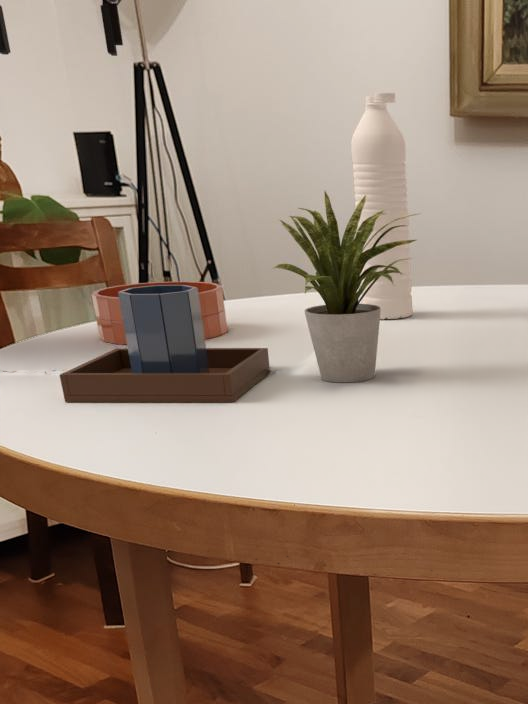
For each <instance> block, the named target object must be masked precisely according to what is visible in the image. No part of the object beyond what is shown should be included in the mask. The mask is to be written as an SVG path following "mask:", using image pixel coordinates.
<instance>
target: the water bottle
mask: <svg viewBox="0 0 528 704" xmlns="http://www.w3.org/2000/svg"><path fill="white" fill-rule="evenodd" d="M392 103H393V104H395V103H396V93H395V92H374V93H373V95H367V96H365V104H363V105H364V106H365V110H364V112H363V114H362V116H361V118H360V119H359V122H358V123H357V125H356V128H355V130H354V132H353V134H352V137H351V144H350V151H351V160H352V164H353V165H352V170H353V179H354V180H353V185H354V193H355V194H354V200H355V203H354V205H355V209H356V208H357V206H358V204H359V203H360V202H361V200H362V199H363V197H364V196H365V195H366V198H365V204H364V207H363V209H362V212H361V216H360V220H359V224H358V227H357V230H358V229H359V227H360V226H361V224H362V222H363V221H365V220H366V219H367V218H369V217H371V216H373V215H374V214H376V213H378V212H381V211H383V213H387V214H382V215H380V216H379V217H378V218H377V219H376V221H375V224H374V228H373V231H372V233H371V234H370V236H369V237H368V239H367V241H366V243H365V245H366V244H367V242H368V241H369V240H370V239H371V238H372V236H373V235H374V234H375V233H376V232H377V231H378V230H379V229H381V228H382V227H383V226H385V225H386V224H387V223H389V222H391V221H393V220H395V219H398V218H401V217H404V216H408V215H409V209H408V201H407V200H408V193H407V191H408V187H407V178H406V177H407V172H406V169H407V165H406V141H405V139H404V138H405V137H404V136H403V133H402V132H401V130H400V128H399V127H398V125H397V123H396V122H395V121H394V119H393V117H392V116H391V115H390V113H389V111H388V109H387V106H388V104H392ZM384 210H385V211H384ZM409 220H410V219H409V217H405V218H402V219H399V220H396V221H394V222H393V223H391V224H389V225H387V226H386V227H385V228H383V229H382V230H381V231H379V232H378V233H377V234H376V235H375V236H374V237H373V239H372V240H371V241H370V242H369V243H368V245H367V246H366V247H365V245H364V247H365V249H364V250H363V249H362V250H363V252H364V251H366V250H368V249H370V248H372V247H373V245H374V244H375V242H376V240H377V239H378V238H379V237H380V235H381V234H382V233H384V232H385V231H386V230H387V229H389V228H391V227H394V226H399V225H408V226H402V227H396V228H394V229H392V230H390V231H389V232H388V233H386V234H385V235H384V236H383V237H382V238H381V239H380V241H379V242H378V243H377V245H376V246H379V245H382V244H386V243H391V242H396V241H405V240H410V232H409V229H408V228H409V225H410V224H409V222H410V221H409ZM409 245H410V243H408V244H403V245H399V246H396V247H394V248H391V249H389V250H387V251H385V252H383V253H381V254H379V255H376V256H374V257H373V258H371V259H369V260H368V261H367V262H366V264H365V266H364V268H363V270H362V272H361V274H362V273H363V272H364V271H365V270H366V269H368V268H369V267H371V266H375V265H384V266H388V265H389V264H391V263H393V262H394V261H397V260H400V259H407V260H401V261H398V262H396V263H394V264H393V265H392V266H393V267H395V268H397V269H398V270H399V271H400V272H401V273H403V274H402V275H401V274H400V273H389V275H390V276H391V277H392V281H393V283H392V282H391V281H390V280H389V279H388V278H386V277H384V276H380V277H379V278H378V280H377V281H376V282H375V283H374V284H373V285H372V287H371V288H370V289H369V290H368V292H367V293H366V294H365V296H364V297H363V298H362V300H361V301H360V302H361V304H371V305H376V306H379V307H380V309H381V312H380V320H385V319H387V320H397V319H405V318H409V317H411V316H412V315H413V310H414V309H413V296H412V294H411V293H412V279H411V274H412V273H411V272H412V269H411V263H410V260H411V259H410V258H411V251H410V247H409ZM376 246H375V247H376ZM364 247H363V248H364ZM385 268H386V267H384V268H378V269H377V270H376V271H375V272H379V271H383V270H384V269H385ZM387 270H394V269H391V268H388V269H387ZM361 274H360V275H361ZM364 280H365V278H364V279H363V280H362V282H361V284H360V286H361V285H362V283H363V282H364ZM374 280H375V279H374ZM374 280H373V281H374ZM373 281H372V282H373ZM372 282H371V283H372ZM371 283H369V284H368V285H367V287H366V288H365V290H364V291H363V293H362V294H361V296H362V295H363V294H364V292H365V291H366V290H367V288H368V287H369V286H370V285H371ZM393 284H394V285H393Z"/></svg>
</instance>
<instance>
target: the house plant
mask: <svg viewBox="0 0 528 704" xmlns="http://www.w3.org/2000/svg"><path fill="white" fill-rule="evenodd" d="M365 198H366V195H365V196H364V197H363V199H362V200H361V202H360V203H359V204H358V206H357V208H356V207H355V210H354V212H353V213H352V215H351V217H350V218H349V220H348V222H347V223H346V227H345V230H344V233H343V235H342V238H341V239H340V232H339V225H338V221H337V218H336V215H335V212H334V210H333V207H332V203H331V200H330V199H331V198H330V196H329V195H328V194H327V192H326V190H324V205H325V214H326V221H327V222H326V221H325V219H324V218H323V216H322V214H321V213H320V212H318V211H316V210H314V211H313V210H311V209H308V208H304V207H303V208H302V207H298V209H299V210H303V211H306V212H308V213H309V214H310V215H311V216H312V217H313V222H312V221H310V220H309V219H308V218H306V217H303V216H297V215H295V216H294V215H293V216H292V215H289V218H290V219H291V220H292V221H293V224H294V225H295V227H296V228H294V227H293V226H292V225H291V224H289V223H287V222H284V221H283V220H281V219H279V221H280V223H281V225H282V226H283V227H284V228H285V229H286V230H287V231H288V233H289V234H290V235H291V237H292V239H294V241H295V242H296V244H298V246H300V248H301V249H302V251H304V253H305V254H306V256H307V257H308V259H309V261H310V262H311V264H312V266H313V268H314V270H315V274H309V273H308V272H307V271H305V270H304V269H302V268H301V267H298V266H296V265H293V264H290V263H279V264H277V265H275V266H273V267H272V269H282V270H286V271H289V272H292V273H295V274H297V275H299V276H301V277H303V278H304V279H305V284H304V285H305V286H304V294H306V293H307V292H308V291H309V290H312V289H314V290H315V291H316V292H317V293H318V294H319V296H320V297H321V299H322V300H323V302H324V304H321V305H315V306H310V307H307V308H304V316H305V319H306V323H307V327H308V331H309V334H310V338H311V343H312V347H313V351H314V355H315V358H316V363H317V367H318V370H319V374H320V377H321V380H322V381H325V382H329V383H357V382H364V381H368V380H372V379H374V377H375V376H376V366H377V355H378V343H379V334H380V333H379V332H380V323H381V322H380V321H381V319H380V312H381V309H380V307H379V306H376V305H371V304H362V303H361V302H362V301H361V300H362V298H363V297H364V296H365V294H366V293H367V292H368V290H369V289H370V288H371V287H372V285H373V284H374V283H375V282H376V281H377V280H378V278H379V277H380V276H384V277H386V278H388V279H389V280H390V281H391V282H392V283H393V281H392V277H391V276H390V275H389V273H400V274H401V275H402V274H403V273H401V272H400V271H399V270H398V269H397V268H395V267H393V266H392V265H393V264H394V263H396V262H398V261H401V260H407V259H400V260H397V261H394V262H393V263H391V264H389V265H388V266H384V265H375V266H371V267H369V268H368V269H366V270H365V271H364V272H363V273H362V274H361V272H362V270H363V268H364V266H365V264H366V262H367V261H368V260H369V259H371V258H373V257H374V256H376V255H379V254H381V253H383V252H385V251H387V250H389V249H391V248H394V247H396V246H399V245H403V244H408V243H409V244H411V243H413V242H416V241H417V239H409V240H405V241H396V242H391V243H386V244H382V245H379V246H376V245H377V243H378V242H379V241H380V239H381V238H382V237H383V236H384V235H385V234H386V233H388V232H389V231H390V230H392V229H394V228H396V227H402V226H408V227H409V225H399V226H394V227H391V228H389V229H387V230H386V231H385V232H384V233H382V234H381V235H380V237H379V238H378V239H377V240H376V242H375V244H374V245H373V247H372V248H370V249H368V250H366V251H364V252H363V250H364V249H365V247H366V246H367V245H368V243H369V242H370V241H371V240H372V239H373V237H374V236H375V235H376V234H377V233H378V232H379V231H381V230H382V229H383V228H385V227H386V226H387V225H389V224H391V223H393V222H394V221H396V220H399V219H402V218H405V217H408V218H409V217H413V216H417V215H418V213H414V214H408V216H404V217H401V218H398V219H395V220H393V221H391V222H389V223H387V224H386V225H385V226H383V227H382V228H381V229H379V230H378V231H377V232H376V233H375V234H374V235H373V236H372V238H371V239H370V240H369V241H368V242H367V244H366V245H365V243H366V241H367V239H368V237H369V236H370V234H371V233H372V231H373V228H374V224H375V221H376V219H377V218H378V217H379V216H380V215H382V214H387V213H383V211H381V212H378V213H376V214H374V215H373V216H371V217H369V218H367V219H366V220H365V221H363V222H362V224H361V226H360V227H359V229H358V228H357V227H358V224H359V220H360V216H361V212H362V209H363V207H364V204H365ZM384 211H385V210H384ZM421 214H422V213H419V215H421ZM302 227H303V228H302ZM304 230H305V231H306V232H305V231H304ZM306 233H307V234H308V236H309V238H310V239H309V238H308V236H307V234H306ZM311 241H312V242H311ZM364 245H365V247H364ZM375 246H376V247H375ZM363 247H364V248H363ZM362 249H363V250H362ZM411 259H413V258H412V257H410V260H411ZM384 267H386V268H385V269H384V270H383V271H379V272H375V271H376V270H377V269H378V268H384ZM388 268H391V269H394V270H387V269H388ZM360 274H361V275H360ZM364 278H365V280H364V282H363V283H362V285H360V284H361V282H362V280H363V279H364ZM374 279H375V280H374ZM373 280H374V281H373ZM372 281H373V282H372ZM371 282H372V283H371ZM309 283H310V284H311V285H312V286H310V285H309V286H308V285H307V284H309ZM369 283H371V285H370V286H369V287H368V288H367V290H366V291H365V292H364V294H363V295H362V293H363V291H364V290H365V288H366V287H367V285H368V284H369ZM393 285H394V284H393ZM360 296H361V297H360Z"/></svg>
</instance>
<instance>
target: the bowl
mask: <svg viewBox="0 0 528 704" xmlns="http://www.w3.org/2000/svg"><path fill="white" fill-rule="evenodd" d="M153 285H188V286H193V287H197V288H198V294H199V301H200V309H201V316H202V323H203V330H204V337H205V340H209V339H212V338H216V337H219V336H223V335H224V334H226V333H227V332H228V322H227V315H226V307H225V306H226V305H225V298H224V291H223V286H222V284H218V283H216V282H208V281H207V282H206V281H187V280H186V281H185V280H183V281H154V282H140V283H139V282H138V283H128V284H121V285H114V286H109V287H104V288H103V287H102V288H100V289H96V290H94V291H93V292H91V298H92V305H93V308H94V309H93V310H94V313H95V320H96V325H97V330H98V335H99V340H101V341H103V342H105V343H109V344H114V345H127V341H126V335H125V330H124V324H123V318H122V312H121V307H120V301H119V295H118V292H119V291H122V290H125V289H128V288H134V287H143V286H153Z"/></svg>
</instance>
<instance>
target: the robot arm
mask: <svg viewBox="0 0 528 704" xmlns="http://www.w3.org/2000/svg"><path fill="white" fill-rule="evenodd" d="M101 1H102V3H101V4H100V6H99V7H100V12H101V19H102V25H103V31H104V38H105V46H106V51H107V54H109V55H111V56H112V57H116V56H117V57H118V50H117V46H124V42H123V35H122V28H121V21H120V14H119V9H118V7H119V5H120V3H121V2H122V0H101ZM4 16H5V15H4V11H3V7H2V5H1V4H0V54H1V55H7V56H8V55H9V54H11V48H10V42H9V37H8V36H9V35H8V32H7V31H8V30H7V26H6V21H5V17H4Z"/></svg>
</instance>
